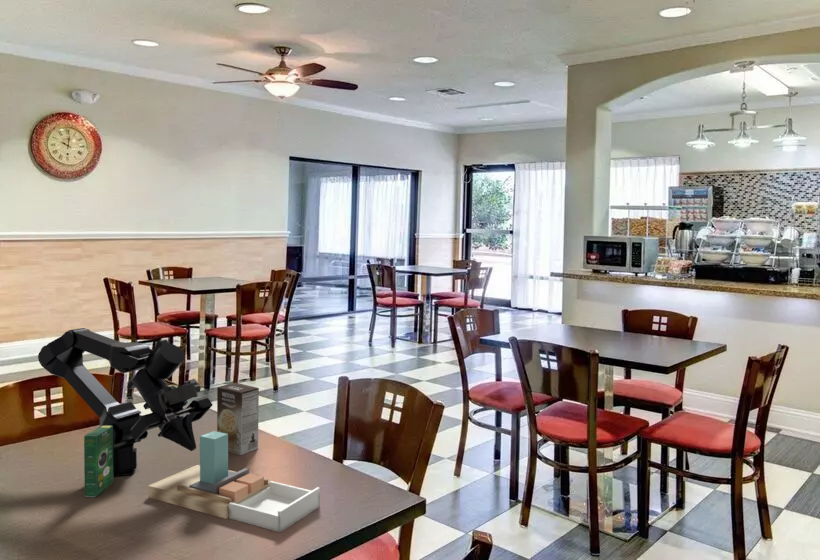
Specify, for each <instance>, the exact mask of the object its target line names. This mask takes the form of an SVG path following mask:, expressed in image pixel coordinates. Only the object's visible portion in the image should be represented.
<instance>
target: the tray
mask: <svg viewBox="0 0 820 560" xmlns="http://www.w3.org/2000/svg"><path fill="white" fill-rule="evenodd" d="M320 495H321V488H320V487H319V486H316V487H315V488H314V489H312V490H311V489H306V488H302V487H298V486H294V485H290V484H285V483H282V482H277V481H272V480H270V481H269V487H268V488H266V489H264V490H262V491H260V492H258V493H256V494H255V495H253V496H251V497H249V498H247V499H245V500H243V501H242V502H240V503H238V504H236V503H232V502H231V503H229V517H228V519H231V520H235V521H238V522H240V523H241V522H242V523H244V524H249V525H252V526H256V527H259V528H262V529H263V528H264V529H267V530H271V531H274V532H278V533H282V532H283V531H285V530H286V529H288V528H289V527H291V526H292V525H294V524H296V523H297V522H298V521H301V519H303V518H304V517H307V516H308V515H309V514H311V513H312V512H314V511H315V510H317V509H318V508H320V503H321V501H320V500H321V496H320Z"/></svg>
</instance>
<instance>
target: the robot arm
mask: <svg viewBox="0 0 820 560" xmlns="http://www.w3.org/2000/svg"><path fill="white" fill-rule="evenodd" d="M85 352H86V353H89V354H91V355H95V356H97V357H98V358H99V357H100V358H102V359H104V360H107V361H108V363H109V365H110V366H111V368H113V369H115V370H116V371H118V372H119V373H121V374H126V373H130V372H136V371H137V372H136V373H135V374H134V375H130V376H129V377H128V383H127V390H131V389H135V388H136V390H137V391H138V393H139V394H140V396H141V398H142V399H143V401H144V404H143V408H144V410H148V409H149V410H150V411H151V412H150V413H146V414H144V415H142V411H141V410H139V409H137V408H136V406H135V405H134V403H133V402H131V401H127V402H124V403H119V402H118V401H117V400H116V398H114V397H113V395H111V393H110V392H109V391H108V390H107V388H105V387H104V386H103V385H102V383H100V381H98V379H97V378H96V377H95V376H94V375H93V374H92V373H91V372H90V370H88V368H87V367H86V366H85V365H84V358H83V357H84V353H85ZM37 359H38V363H39V364H40V366H41V367H42V368H43V369H45V370H46V371H47V373H50V374H51V375H54V376H57V377H59V378H63V379H64V380H65V381H66V382H67V383H68V385H70V386H71V387H72V389H74V391H75V392H76V393H77V394H78V395H79V396H80V398H81V399H82V400H83V401H84V402H85V403H86V404H87V405H88V407H89V408H90V409H91V410H92V411H93V412H94V414H95V415H96V416H97V417H98V418H99V427H100V426H102V425H110V426H113V477H118V476H119V477H120V476H131V475H134V473H135V470H136V469H137V467H138V449H137V448H136V447H135V444H136V443H140V442H141V441H142V440H145V439H147V437H148V434H149V432H148V431H150V430H152V429H155V428H159V431H160V432H159V433H157V437H159V438H160V437H161V438H164V439H166V440H169V441H172V442H174V444H177V445H179V446H180V447H182V448H185V449H187V450H189V451H190V452H192V451H195V450H196V449H197V443H196V440H195V435H194V431H193V430H194V429H193V423H194V422H197V421H199V420H201V419H202V418H203V417H204V415H205V414H206V413H207V412H208V411H209V410H210V408H212V407H213V403H212V401H211V400H210V399H209V397H205V396H202V397H200V398H197V397H198V396H199V393H200V392H201V389H202V388H201V386H200V383H199V382H198V380H197V379H195V378H192V379H189V380H188V381H185V382H184V384H183V385H179V386H177V387H176V386H175V385H170V386H169V384H168V383H167V381H166V380H168V379H169V378H170V377H172V376H173V374H174V373H175V372H176V371H177V369H178V368H179V367H180V366H181V365H182V363H183V362H184V361H185V359H186V356H185V352H184V350H183V349H182V348H179V346H178V345H176V344H174V343H171V342H169V341H168V340H167V339H162V340H158V341H157V343H156V344H155V345H154V348H153V349H152V348H151V347H150V345H148V344H146V343H143V342H131V341H130V342H123V341H118V340H116V339H114V338H110V337H108V336H105V335H103V334H99V333H97V332H94V331H91V330H90V329H89V328H86V327H81V328H75V329H74V328H73V329H69V330H67V331H65V332H64V333H63V334H62V335H61V336H59V337H57V338H56V339H54V340H52V341H50V342H49V343H47V344H46V345H43V346H42V347H41V349H40V351H39V352H38V355H37ZM192 398H195V399H193V400H192V401H191V402H190V403H189V401H188V400H190V399H192ZM188 403H189V404H188ZM187 404H188V406H187ZM185 406H186V407H185ZM184 407H185V408H184Z"/></svg>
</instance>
